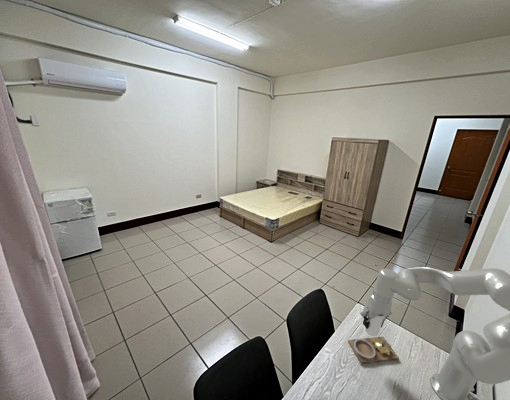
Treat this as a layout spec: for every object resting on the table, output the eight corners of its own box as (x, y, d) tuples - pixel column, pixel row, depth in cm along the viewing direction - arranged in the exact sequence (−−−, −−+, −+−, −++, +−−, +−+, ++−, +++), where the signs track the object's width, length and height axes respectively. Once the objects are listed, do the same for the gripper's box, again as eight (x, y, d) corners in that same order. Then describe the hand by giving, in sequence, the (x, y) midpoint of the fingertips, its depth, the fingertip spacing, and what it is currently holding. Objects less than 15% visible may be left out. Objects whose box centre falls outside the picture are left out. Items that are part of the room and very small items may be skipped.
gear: (383, 338, 112) (385, 332, 111) (396, 355, 104) (398, 349, 102) (368, 340, 111) (370, 333, 109) (380, 357, 103) (382, 350, 101)
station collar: (366, 339, 111) (367, 337, 111) (379, 358, 102) (379, 356, 102) (349, 341, 109) (350, 339, 109) (361, 360, 100) (361, 358, 100)
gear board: (382, 338, 114) (383, 336, 113) (398, 359, 104) (399, 357, 103) (348, 342, 111) (348, 340, 110) (360, 364, 100) (361, 362, 100)
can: (374, 325, 104) (381, 306, 100) (380, 337, 98) (387, 317, 94) (361, 323, 105) (367, 304, 101) (366, 335, 99) (372, 315, 94)
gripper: (393, 288, 99) (382, 317, 105) (359, 290, 96) (350, 319, 102) (406, 300, 92) (394, 331, 98) (370, 303, 89) (360, 334, 95)
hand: (372, 325), depth 100 cm, fingers closed on can, 6 cm apart
